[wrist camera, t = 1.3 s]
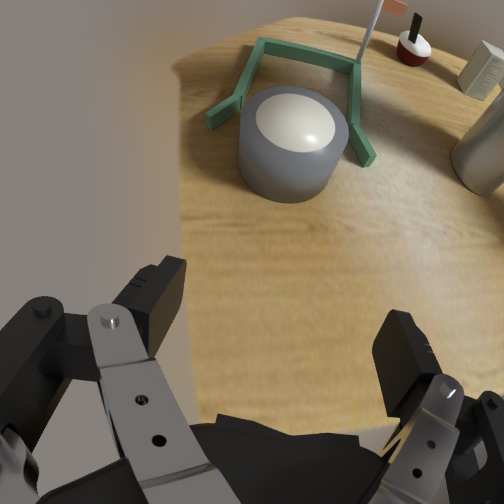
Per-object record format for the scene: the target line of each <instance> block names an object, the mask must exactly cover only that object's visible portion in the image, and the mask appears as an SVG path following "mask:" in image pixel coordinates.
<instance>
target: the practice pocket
mask: <svg viewBox="0 0 504 504" xmlns="http://www.w3.org/2000/svg"><path fill="white" fill-rule="evenodd" d="M407 6H408V5H407V4H404V3H403V2H400V1H397V0H378V1H377V4H376V7H375V10H374V12H373V15H372V18H371V20H370V23H369V26H368V29H367V31H366V34H365V37H364V39H363V42H362V45H361V47H360V50H359V53H358V55H357V58H356V60H355V59H351V58H348V57H345V56H342V55H338V54H335V53H331V52H327V51H324V50H320V49H316V48H312V47H308V46H304V45H300V44H295V43H291V42H286V41H281V40H276V39H271V38H265V37H260V36H259V38H258V40H257V42H256V44H255V46H254V48H253V51H252V53H251V55H250V57H249V59H248V62H247V64H246V66H245V68H244V71H243V73H242V75H241V77H240V80H239V82H238V84H237V87H236V89H235V91H234V94H233V95H232V96H230V97H229V98H227V99H226V100H224V101H222V102H221V103H219V104H218V105H216V106H215V107H213V108H212V109H210V110H209V111H207V112H206V113H205V117H206V127H208V128H209V129H210V130H213V129H214V128H216V127H217V126H218V125H220V124H221V123H223V122H224V121H225V120H227V119H228V118H230V117H231V116H233V115H234V114H235V113H237V112H238V111H240V109H242V107H243V104H244V102H245V99H246V96H247V94H248V91H249V89H250V86H251V84H252V81H253V78H254V76H255V73H256V71H257V68H258V66H259V63H260V61H261V58H262V56H263V54H264V53H265V54H270V55H275V56H280V57H285V58H289V59H294V60H298V61H302V62H307V63H311V64H315V65H318V66H322V67H326V68H329V69H333V70H337V71H340V72H343V73H347V74H350V76H349V95H348V110H347V125H348V129H349V138H348V140H349V142H350V144H351V146H352V147H353V149H354V151H355V153H356V155H357V157H358V159H359V161H360V163H361V165H362V167H363V168H364V167H370V165H371V164H372V162H373V160H374V159H375V157H376V156H377V155H376V153H375V151H374V149H373V148H372V146H371V144H370V142H369V141H368V139H367V137H366V135H365V134H364V132H363V130H362V128H361V127H360V115H361V59H362V57H363V54H364V52H365V49H366V47H367V44H368V41H369V39H370V36H371V34H372V31H373V28H374V26H375V23H376V21H377V18H378V15H379V13H380V10H383V11H385V12H388V13H391V14H394V15H396V16H398V17H401V18H403V15H404V13H405V11H406V8H407Z"/></svg>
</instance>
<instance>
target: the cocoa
mask: <svg viewBox="0 0 504 504" xmlns="http://www.w3.org/2000/svg"><path fill="white" fill-rule="evenodd" d="M421 22H422V17H421V16H420V15H418V14H417V13H414V16H413V20H412V25H411V28H410V31H405V32H402V33H401V34H400V36H399V38H400V39H399V42H398V45H397V53H398V56H399V57H400V59H401V60H402V61H403V62H405V63H406V64H408V65H411V66H420V65H422V64H423V63H424V62H425V61H426V60H427V58H428V57H429V56H430V55H431V47H430V45H429V43H428V42H427V41H425V40H424V38H423V37H422V36H421V35H419V34H418V32H419V28H420V25H421Z"/></svg>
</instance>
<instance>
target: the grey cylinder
mask: <svg viewBox="0 0 504 504" xmlns="http://www.w3.org/2000/svg"><path fill="white" fill-rule="evenodd" d="M348 138H349V129H348V125H347V122H346V119H345V117H344V116H343V114H342V112H341V111H340V110H339V109H338V107H337V106H336V105H334V104H333V103H332V102H331V101H330V100H329V99H327V98H325V97H324V96H322V95H320V94H319V93H316V92H314V91H312V90H309V89H306V88H301V87H296V86H275V87H270V88H266V89H264V90H261V91H259V92H257V93H256V94H254V95H253V96H251V97H250V98H249V99H248V100H247V102H246V103H245V104H244V106H243V108H242V111H241V117H240V133H239V153H238V166H239V171H240V173H241V176H242V178H243V179H244V181H245V182H246V184H247V185H248V186H249V187H250V188H251V189H252V190H253V191H255V192H256V193H257V194H259V195H260V196H262V197H264V198H266V199H269V200H272V201H275V202H279V203H300V202H304V201H307V200H310V199H312V198H313V197H315V196H317V195H318V194H319V193H320V192H321V191H322V190H323V189H324V188H325V186H326V184H327V183H328V181H329V179H330V177H331V175H332V173H333V171H334V169H335V167H336V165H337V163H338V161H339V159H340V157H341V155H342V153H343V151H344V149H345V147H346V145H347V142H348Z"/></svg>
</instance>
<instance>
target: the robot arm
mask: <svg viewBox="0 0 504 504" xmlns="http://www.w3.org/2000/svg"><path fill="white" fill-rule="evenodd" d="M451 160H452V164H453V167H454V170H455V171H456V173H457V175H458V177H459V178H460V179H461V181H462V182H463V183H464V184H465V185H466V186H467V187H468V188H469V189H470V190H471V191H473V192H474V193H476V194H478V195H482V196H487V195H489V194H491V193H492V192H493V191H494V190H496V189H497V188H498V187H499V186H501V185H502V184H503V183H504V88H503V90H502V91H501V92H500V94H499V95H498V96H497V97H496V98H495V100H494V101H493V102H492V103H491V105H490V106H489V107H488V108H487V109H486V111H485V112H484V113H483V114H482V115H481V117H480V118H479V119H478V120H477V121H476V122H475V124H474V125H473V126H472V127H471V128H470V129H469V131H468V132H467V133H466V134H465V135H464V136H463V137H462V139H461V140H460V141H459V142H458V143H457V144H456V145H455V147H454V148H453V149H452V152H451ZM186 264H187V263H186V260H184V259H180V258H176V257H172V256H168V255H167V256H166V257H165V258H164V259H163V260H162V262H161V263H160V264H159V265H158V266H155V265H148V266H146V267H144V268H142V269H140V270H139V271H138V272H137V274H136V275H135V276H134V278H132V280H130V282H129V284H127V285H126V286H125V288H124V289H123V290H122V291H121V292H120V294H119V295H118V296H117V297H116V298H115V300H114V301H113V302H112V303H111V304H102V305H99V306H96V307H94V308H93V309H92V310H91V311H90V312H89V313H88V315H79V314H70V313H64V309H63V305H62V303H61V302H60V301H59V300H57V299H56V298H53V297H48V296H42V297H36V298H33V299H31V300H30V301H28V302H27V303H26V304H25V305H24V306H23V307H22V308H21V309H20V310H19V311H18V312H17V313H16V314H15V315H14V316H13V317H12V319H11V320H10V321H9V322H8V323H7V324H6V325H5V326H4V327H3V328H2V329H1V331H0V504H431V502H432V500H433V498H434V496H435V494H436V492H437V490H438V487H439V485H440V483H441V481H442V478H443V476H444V474H445V478H446V484H447V489H448V495H449V501H450V504H504V400H503V399H502V398H501V397H500V396H499V395H498V394H496V393H494V392H492V391H484V392H483V393H482V394H481V395H480V397H479V398H478V399H477V400H476V399H473V398H471V397H468V396H465V395H464V390H463V388H462V386H461V385H460V383H459V382H458V381H457V380H456V379H454V378H453V377H451V376H449V375H446V374H443V372H442V370H441V368H440V366H439V363H438V361H437V359H436V357H435V355H434V353H433V350H432V348H431V346H429V345H430V344H429V342H428V340H427V338H426V336H425V334H424V333H423V332H422V331H421V330H420V329H419V328H418V327H416V324H415V322H414V320H413V318H412V316H411V314H410V313H408V312H403V311H399V310H394V309H392V310H391V311H390V312H389V313H388V315H387V317H386V319H385V321H384V323H383V325H382V327H381V328H380V330H379V332H378V334H377V336H376V338H375V340H374V343H373V347H372V355H373V359H374V363H375V367H376V371H377V374H378V379H379V383H380V387H381V391H382V395H383V399H384V404H385V408H386V412H387V417H397V418H400V422H399V423H398V424H397V425H396V426H395V428H394V429H393V431H392V433H391V434H390V436H389V437H388V439H387V440H386V442H385V443H384V445H383V447H382V448H381V449H380V451H379V452H378V454H376V453H374V452H372V451H370V450H368V449H366V448H363V447H361V446H360V445H359V437H358V436H355V435H344V434H334V433H319V434H309V435H296V436H292V435H287V434H285V433H282V432H279V431H277V430H274V429H272V428H269V427H267V426H264V425H262V424H259V423H257V422H254V421H250V420H245V419H240V418H236V417H231V416H227V415H222V414H217V418H216V422H215V423H202V424H195V425H188V423H187V421H186V419H185V417H184V415H183V413H182V411H181V410H180V408H179V406H178V404H177V402H176V400H175V398H174V395H173V393H172V391H171V389H170V387H169V385H168V384H167V381H166V379H165V377H164V375H163V372H162V370H161V368H160V366H159V364H158V362H157V360H156V359H155V358H154V357H155V355H156V353H157V351H158V349H159V347H160V345H161V343H162V341H163V339H164V337H165V336H166V333H167V332H168V330H169V327H170V326H171V324H172V322H173V320H174V318H175V316H176V314H177V312H178V310H179V308H180V305H181V301H182V296H183V289H184V281H185V273H186ZM72 379H77V380H85V381H95V382H97V386H98V390H99V394H100V397H101V401H102V404H103V408H104V411H105V414H106V418H107V421H108V424H109V427H110V431H111V435H112V438H113V442H114V445H115V448H116V451H117V453H118V456H119V460H117V461H116V462H113V463H111V464H109V465H107V466H105V467H103V468H101V469H99V470H97V471H95V472H92V473H90V474H88V475H86V476H84V477H81V478H79V479H77V480H75V481H72V482H70V483H68V484H65V485H63V486H61V487H58V488H56V489H53V490H51V491H49V492H48V493H46V494H45V495H43V496H42V497H41V498H40V497H39V495H38V492H37V481H38V477H39V467H38V464H37V462H36V460H35V458H34V457H33V455H32V452H33V450H34V448H35V446H36V444H37V442H38V441H39V438H40V437H41V435H42V433H43V431H44V429H45V427H46V425H47V423H48V422H49V420H50V418H51V416H52V414H53V412H54V411H55V409H56V407H57V405H58V403H59V402H60V400H61V398H62V396H63V395H64V393H65V391H66V389H67V388H68V386H69V384H70V382H71V381H72ZM482 440H483V441H484V444H485V448H486V451H487V456H488V458H487V462H486V464H485V465H484V467H483V468H482V469H480V470H479V467H478V463H477V459H476V456H475V452H474V448H475V447H476V446H477V445H478V444H479V443H480V442H481V441H482Z"/></svg>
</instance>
